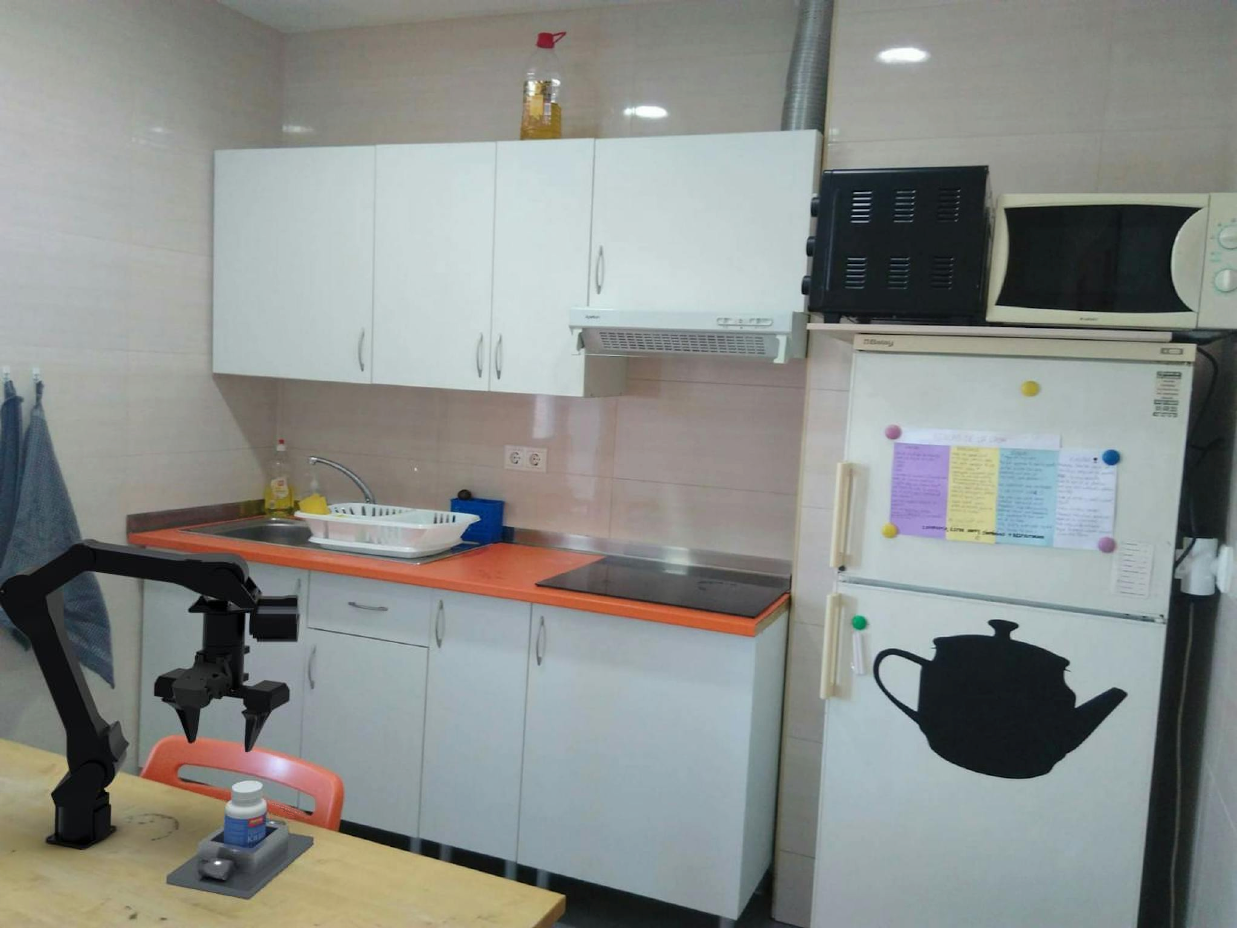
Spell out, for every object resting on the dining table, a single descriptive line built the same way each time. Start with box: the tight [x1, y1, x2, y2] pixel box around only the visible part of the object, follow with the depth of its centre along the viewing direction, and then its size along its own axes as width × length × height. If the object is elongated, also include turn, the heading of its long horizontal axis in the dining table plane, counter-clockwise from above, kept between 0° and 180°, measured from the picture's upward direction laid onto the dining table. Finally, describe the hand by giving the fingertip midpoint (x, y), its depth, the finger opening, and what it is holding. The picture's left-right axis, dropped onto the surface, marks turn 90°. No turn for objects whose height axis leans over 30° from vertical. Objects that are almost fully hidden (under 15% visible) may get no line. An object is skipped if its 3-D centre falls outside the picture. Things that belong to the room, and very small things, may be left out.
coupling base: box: [165, 817, 315, 900], centre depth 133 cm, size 12×16×4 cm
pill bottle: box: [223, 780, 268, 849], centre depth 132 cm, size 6×5×10 cm
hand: (219, 747), depth 141 cm, fingers open, 9 cm apart
